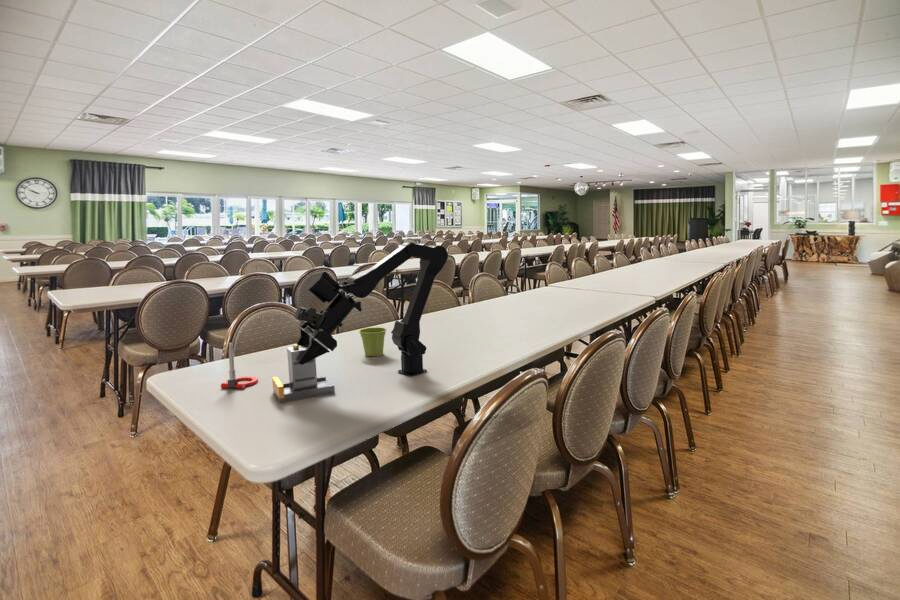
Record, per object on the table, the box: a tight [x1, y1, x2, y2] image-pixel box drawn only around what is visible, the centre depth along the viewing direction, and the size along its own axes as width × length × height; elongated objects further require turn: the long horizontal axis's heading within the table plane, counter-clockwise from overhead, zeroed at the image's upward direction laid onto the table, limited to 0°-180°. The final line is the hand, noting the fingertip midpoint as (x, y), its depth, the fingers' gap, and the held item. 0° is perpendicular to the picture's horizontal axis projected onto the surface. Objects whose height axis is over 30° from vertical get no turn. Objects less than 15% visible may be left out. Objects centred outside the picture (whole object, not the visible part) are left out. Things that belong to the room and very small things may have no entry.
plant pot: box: [358, 326, 388, 357], centre depth 161 cm, size 9×9×9 cm
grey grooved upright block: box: [286, 343, 318, 392], centre depth 124 cm, size 6×6×12 cm
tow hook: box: [220, 342, 259, 390], centre depth 133 cm, size 8×13×9 cm
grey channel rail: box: [271, 375, 336, 404], centre depth 125 cm, size 14×9×4 cm
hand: (296, 359), depth 123 cm, fingers open, 9 cm apart
